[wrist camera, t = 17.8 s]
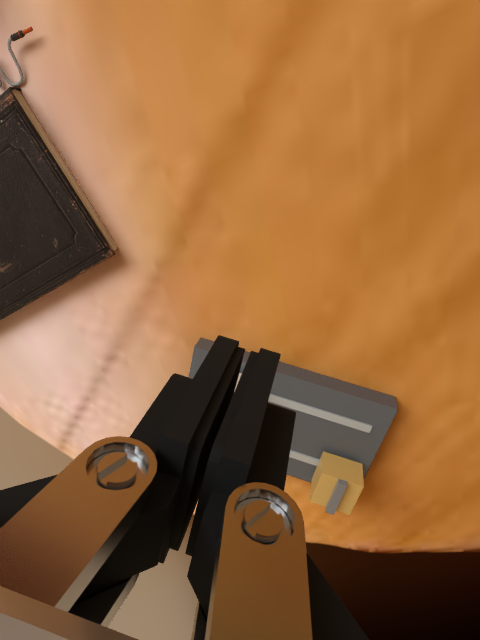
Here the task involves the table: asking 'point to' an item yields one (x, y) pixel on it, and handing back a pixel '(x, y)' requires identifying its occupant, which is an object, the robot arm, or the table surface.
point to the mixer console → (323, 415)
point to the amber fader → (336, 483)
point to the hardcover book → (40, 212)
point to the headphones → (13, 38)
